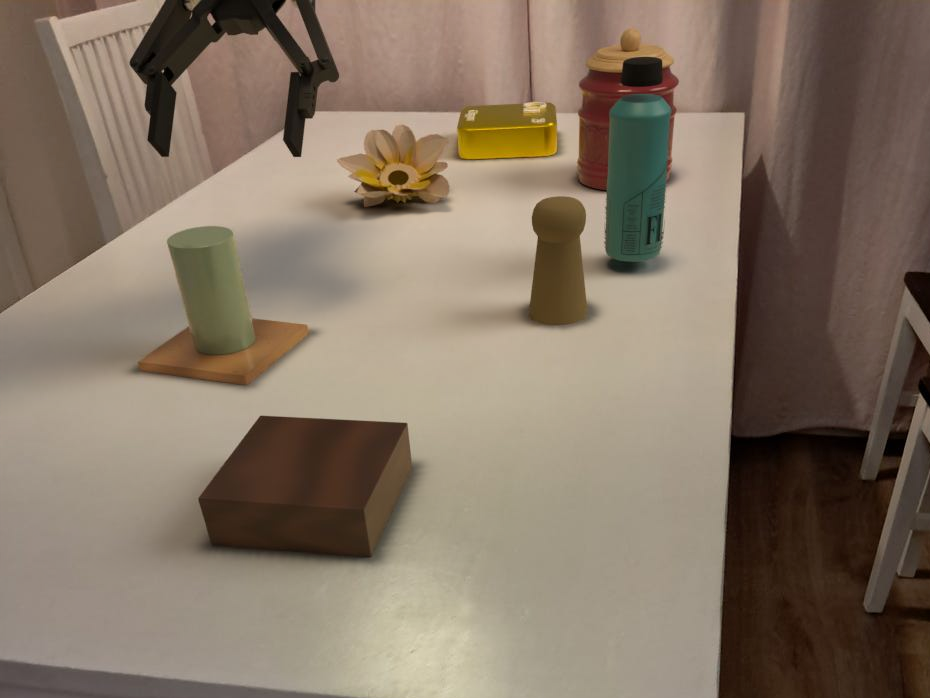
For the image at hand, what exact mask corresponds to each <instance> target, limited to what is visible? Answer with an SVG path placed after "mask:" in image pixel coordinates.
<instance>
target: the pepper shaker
mask: <svg viewBox="0 0 930 698" xmlns="http://www.w3.org/2000/svg"><path fill="white" fill-rule="evenodd" d="M586 223H587V211H586V208H585V206H584V204H583V203H582V201H581V200H579V199H577V198H575V197H571V196H566V195H565V196H563V195H560V196H559V195H558V196H549V197H546V198H543V199H541V200H540V201H538V202H537V203H536V204H535V206H534V208H533V210H532V214H531V226H532V230H533V232H534V233H535V235H536V236H537V239H536V248H535V249H536V250H535V258H534V267H533V275H532V284H531V292H530V300H529V308H528V316H529V318H530V319H531V320H532V321H534V322H536V323H539V324H542V325H548V326H566V325H572V324H575V323H578V322H580V321H582V320H584V319H585V318H586V317H587V316H588V304H587V303H588V302H587V293H586V283H585V275H584V273H585V271H584V263H583V254H582V242H581V235H582V233H583V232H584V231H585V228H586V227H585V226H586Z"/></svg>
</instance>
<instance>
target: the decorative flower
mask: <svg viewBox="0 0 930 698" xmlns="http://www.w3.org/2000/svg"><path fill="white" fill-rule="evenodd" d="M448 143H449V140H448V139H447V138H446V137H444V136H443V135H440V134H438V133H437V134H435V133H434V134H428V135H426V136H423V137H420V138H419V139H418V140H417V139H416V135H415V134H414V132H413V131H412V129H411V128H410V127H409V126H407V125H405V124H403V123H402V124H396V125H394V128H393V130H392V133H390V132H389V131H388V130H385V129H371V130H370V131H368V132H367V133H365V137H364V140H363V150H364V152H365V153H355V154H351V155H348V156H344V157H343V156H342V157H340V158H336V162H337V164H338V165H339V166H340V167H342V168H343V169H345V170H346V171H348V172H349V173H351V174H349V175H347V178H349V179H352V180H354V181H357V182H359V183H360V185H359V186H358V187H357V188H356V189H355V190H353V193H356V194H357V195H361V196H364V198H363V206H364V208H368V207H373V206H377V205H380V204H382V203H383V202H384V201H385V200H386V199H387V201H390V200H394V201H395V202H396V203H397V204H399V202H403V203H404V204H406V201H407V200H410V201H412V198H413V197H417V196H418V197H419V198H420V199H421V200H423V201H424V202H425V203H429V204H432V203H433V204H434V203H438V202H439V201H440V200H441V199H442V198H447V197H448V196H449V194H450V183H449V181H448V180H447V178H446V177H445V176H444V175H442V174H439V173H441V172H444V171H445V170H446V169H448V162H446V161H439V160H440V158H441V157H442V155H443V153H444V151H445V149H446V148H447V146H448Z"/></svg>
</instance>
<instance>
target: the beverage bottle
mask: <svg viewBox="0 0 930 698" xmlns="http://www.w3.org/2000/svg"><path fill="white" fill-rule="evenodd" d="M662 81H663V74H662V60H661V59H660V58H656V57H635V58H629V59H626V60H625V61H624V62H623V67H622V75H621V84H622V85H624V86H629V87H649V86H655V85H659V84H661V83H662ZM670 115H671V108H670V106H669V105H668V104H667V102H666V101H665V100H664V99H663V98H662V97H661V96H659V95H654V94H632V95H626V96H623V97H621V98H620V99H619V100H618V101H617V102H616V103H615V104H614V106H613V107H612V108H611V109H610V112H609V117H610V126H609V155H608V175H607V176H608V178H607V190H606V191H605V192H606V196H605V201H604V203H605V210H604V215H605V221H604V224H605V225H604V226H603V227H604V236H603V238H604V240H603V244H604V250H605V253H606V255H607V256H608V257H609V258H611V259H614V260H617V261H621V262H643V261H648V260H652V259H654V258H656V257H658V256H659V255H660V253H661V250H662V248H663V246H662V245H663V244H664V241H663V240H664V234H665V229H664V224H665V222H666V221H665V219H664V218H665V211H666V209H665V208H666V206H665V204H666V202H667V200H666V199H667V197H666V196H667V195H666V191H667V181H666V175H667V165H669V164H667V161H668V145H669V143H668V141H669V126H670ZM669 150H670V148H669ZM605 186H606V185H605Z"/></svg>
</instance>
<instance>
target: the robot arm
mask: <svg viewBox="0 0 930 698" xmlns="http://www.w3.org/2000/svg"><path fill="white" fill-rule="evenodd" d="M290 1H291V4H292V6H293V7H294V8H296V9H298V11H299V13H300V16H301V18H302V22H303V23H304V24H303V25H304V26H305V27H304V28H305V29H306V32H307V34H308V37H309V39H310V42H311V44H312V48H313V50H314V53H315V56H316V58H317V59H315V60H312V61H311V59H310V57H309V56H307V55H306V53H305V52H304V51H303V49H302V48H301V46H300V45H299V44H298V42H297V41H296V39H295V38H294V37H293V35H292V33H290V31H289V30H288V29H287V27H286V26H285V25H284V23H283V22H282V20H281V19H280V18H279V16H278V15H277V13H279V12H280V10H281V9H282V8H283V7H284V5H286V2H287V0H165V1H164V2H163V4H162V5H161V7H160V8H159V10H158V12H157V14H156V16H155V17H154V19H153V21H152V22H151V24H150V25H149V28H148V29H147V31H146V33H145V34H144V36H143V37H142V39H141V41H140V43H139V44H138V46H137V47H136V49H135V51H134V53H133V54H132V56H131V58H130V59H129V66H130V68H131V69H132V71H134V73H135V74H136V75H137V76H138V78H139V79H140V80H141V82H142V83H143V84H144V85H146V89H145V96H144V97H145V98H144V109H145V111H146V113H147V114H148V115H149V123H148V130H147V131H148V132H147V142H148V143H149V144H150V146H152V147H153V149H154V150H155V151H156V152H157V153H158V155H159V156H160V157H161V158H169V157H170V151H171V143H172V134H173V126H174V125H173V124H174V118H175V110H176V102H177V101H176V100H177V95H178V94H177V91H176V90H175V88H174V87H173V84H174V83H175V82H177V80H178V79H179V78H180V77H181V76H182V74H184V72H185V71H186V70H187V69H188V68H189V67H190V66H191V65H192V64H193V63H194V62H195V61H196V60H197V58H199V56H200V55H201V54H202V53H203V52H204V51H205V50H206V49H207V48H208V46H209V45H210V44H211V43H218V42H219V41H220V40H221V38H222V37H223V36H224V35H225V34H226V35H227V36H237V35H242V34H246V35H250V36H258V35H259V32H261V31H264V29H265V30H266V31H267V32H268V33H269V34H270V36H271V37H272V39H273V40H274V42H276V43H277V45H278V46H279V47H280V49H281V50H282V52H283V53H284V55H285V56H286V57H287V59H288V60H289V61H290V63H291V64H292V65H293V67H294V68H295V69H296V71H290V74H289V76H290V77H289V82H288V83H289V84H288V92H287V99H286V101H287V102H286V108H285V119H284V125H283V127H284V128H283V134H282V135H283V136H282V141H283V143H284V144H285V146H286V148H287V149H288V151H289V153H290V154H291V155H292V157H293V158H302V153H303V145H304V137H305V127H306V120H307V119H313V118H314V117H315V114H316V107H317V99H318V98H317V97H318V90H319V87H320V86H321V85H322V84H323V83H325V82H327V81H328V82H329V83H336V82H337V81H338V80H339V78H340V72H339V70H338V68H337V65H336V63H335V59H334V57H333V55H332V52H331V50H330V46H329V44H328V41H327V38H326V37H325V34H324V31H323V29H322V28H323V27H322V26H321V23H320V21H319V18H318V15H317V13H316V0H290ZM210 15H211V17H212V19H213V20H214V23H213V24H212V23H211V22H210V21H209V19H208V17H209V16H210Z"/></svg>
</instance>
